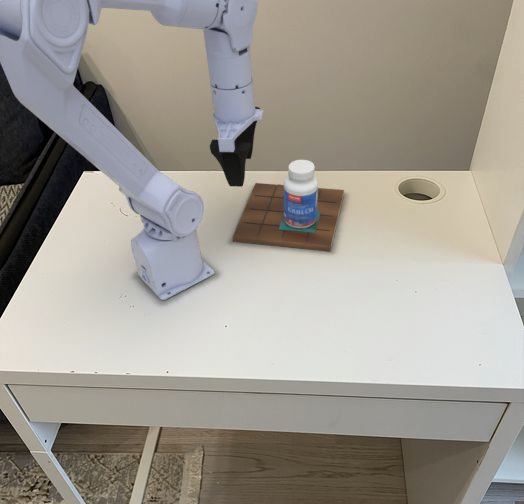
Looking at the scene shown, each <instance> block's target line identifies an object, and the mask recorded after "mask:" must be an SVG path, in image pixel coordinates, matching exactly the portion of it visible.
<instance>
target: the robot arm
mask: <svg viewBox="0 0 524 504" xmlns="http://www.w3.org/2000/svg"><path fill="white" fill-rule="evenodd" d="M258 5H259V4H258V0H0V66H1V67H2V69H3V72H4V75H5V77H6V80H7V81H8V84H9V87H10V88H11V91H12V93H13V96H14V97H15V98H16V99H17V100H18V102H19V103H20V104H21V105H23V107H25V108H26V109H28V111H30V112H31V113H32V114H33V115H34V116H35V117H37V118H38V119H39V120H40V121H41V122H42V123H44V124H45V125H46V126H47V127H48V128H49V129H50V130H52V131H53V132H54V133H56V134H57V135H58V136H59V137H60V138H62V140H64V141H65V142H66V143H67V144H68V145H70V146H71V147H72V148H73V149H74V150H75V151H77V152H78V153H79V154H80V155H81V156H83V157H84V158H85V159H86V160H87V161H88V162H90V163H91V164H92V165H93V166H94V167H95V168H97V169H98V170H99V171H101V173H102V174H104V175H105V176H106V177H107V178H108V179H109V180H111V181H112V182H113V183H114V184H115V185H116V186H117V187H118V191H119V192H120V193H121V194H122V195H123V196H124V197H125V199H126V201H127V204H128V206H129V208H130V210H131V211H132V212H134V214H136V215H138V216H139V217H140V220H141V223H142V224H143V229H142V230H141V231H140V233H138V234H137V235H136V236H134V237H133V238H132V239H130V248H131V251H132V256H133V259H134V262H135V265H136V269H137V276H138V278H140V279H141V280H142V281H143V282H144V284H145V285H146V286H147V287H148V288H149V289H150V290H151V291H152V292H153V293H154V295H156V296H157V298H158V299H160V300H161V301H166V300H167V299H170V298H171V297H174V296H175V295H177V294H179V293H181V292H183V291H184V290H187V289H189V288H191V287H193V286H194V285H196V284H198V283H200V282H202V281H204V280H207V279H208V278H210V277H211V276H214V275H215V270H214V269H213V268H212V267H211V266H210V265H209V264H208V263H207V262H205V261H204V260H203V259H202V255H201V248H200V242H199V236H198V231H197V229H198V228H199V225H200V223H201V221H202V220H203V216H204V212H205V211H204V210H205V209H204V206H205V205H204V201H203V199H202V197H201V196H200V195H199V194H198V192H195V191H192V190H188V189H186V188H185V187H182V186H181V185H180V184H179V183H177V182H176V181H174V180H173V179H171V178H170V177H168V175H166V174H164V173H163V172H161V171H160V170H159V169H158V168H157V167H155V165H153V164H152V163H151V161H150V160H149V159H148V158H146V156H145V155H144V154H142V152H141V151H140V150H139V149H137V147H136V146H135V145H134V144H133V143H132V142H131V141H129V139H128V138H126V137H125V136H124V134H123V133H122V132H121V131H119V130H118V128H116V127H115V126H114V125H113V123H111V122H110V121H109V119H108V118H106V117H105V116H104V115H103V114H102V113H101V112H100V110H99V109H98V108H96V106H95V105H93V104H92V103H91V102H90V101H89V100H88V98H86V96H84V95H83V94H82V93H81V92H80V91H79V90H78V89H77V88H76V86H75V85H74V82H75V79H76V75H77V71H78V69H79V65H80V60H81V56H82V53H83V49H84V46H85V42H86V38H87V34H88V29H89V24H90V25H93V26H96V25H98V23H99V20H100V16H101V12H102V9H116V10H131V11H145V12H150V13H151V15H152V17H153V19H155V21H156V22H157V23H158V24H159V25H161V26H163V27H173V28H183V29H193V30H194V29H195V30H202V31H203V39H204V47H205V54H206V61H207V68H208V69H207V70H208V76H209V84H210V91H211V98H212V106H213V114H212V117H213V122H214V125H215V128H216V133H217V134H218V136H217V139H211V140H210V144H209V151H210V153H211V155H213V157H214V158H215V159H216V160H217V162H218V163H219V165H220V167H221V169H222V172H223V174H224V177H225V180H226V182H227V184H228V186H229V187H238V188H239V187H240V188H242V187H244V184H245V176H246V163H247V160H251V159H252V156H253V151H254V150H253V149H254V140H255V132H256V127H257V124H258V122H260V121H262V120H263V117H264V110H263V109H261V108H260V107H259V106H255V97H254V96H255V95H254V83H253V82H254V81H253V67H252V57H251V55H252V54H251V45H252V41H253V39H254V32H253V29H254V24H255V22H256V18H257V14H258Z"/></svg>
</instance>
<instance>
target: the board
mask: <svg viewBox="0 0 524 504" xmlns="http://www.w3.org/2000/svg"><path fill="white" fill-rule="evenodd" d="M344 195H345V190H344V189H336V188H324V187H318V199H317V217H316V221H315V223H314V224H313V225H311V226H310V227H307V228H294V227H291V226H289V225H287V224H286V222H285V220H284V184H273V183H264V182H263V183H262V182H255V183H254V186H253V188H252V191H251V193H250V195H249V197H248V199H247V201H246V205H245V207H244V209H243V212H242V214H241V216H240V219H239V221H238V223H237V226H236V228H235V230H234V233H233V235H232V242H233V243H235V242H236V243H243V244H244V243H245V244H253V245H254V244H256V245H264V246H275V247H283V248H284V247H285V248H293V249H303V250H313V251H323V252H331V251H332V247H333V243H334V238H335V234H336V230H337V225H338V221H339V217H340V213H341V208H342V204H343V200H344V197H345V196H344Z"/></svg>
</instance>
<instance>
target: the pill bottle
mask: <svg viewBox="0 0 524 504" xmlns="http://www.w3.org/2000/svg"><path fill="white" fill-rule="evenodd" d="M315 168H316V167H315V163H313V162H312V161H311V160H308V159H296V160H293V161H291V162H290V163H289V164H288V168H287V169H288V172H287V176H286V177H285V179H284V182H283V185H284V220H285V222H286V224H287V225H289V226H291V227H294V228H307V227H310V226H311V225H313V224H314V223H315V221H316V217H317V199H318V188H319V180H318V178H317V177H316V176H315V172H316V171H315Z"/></svg>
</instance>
